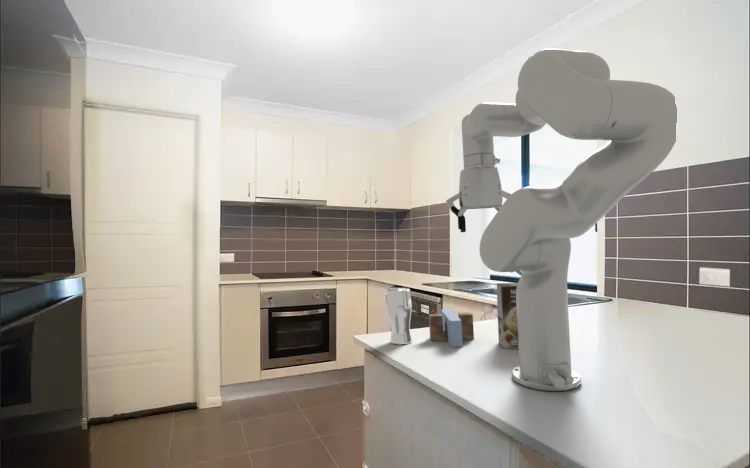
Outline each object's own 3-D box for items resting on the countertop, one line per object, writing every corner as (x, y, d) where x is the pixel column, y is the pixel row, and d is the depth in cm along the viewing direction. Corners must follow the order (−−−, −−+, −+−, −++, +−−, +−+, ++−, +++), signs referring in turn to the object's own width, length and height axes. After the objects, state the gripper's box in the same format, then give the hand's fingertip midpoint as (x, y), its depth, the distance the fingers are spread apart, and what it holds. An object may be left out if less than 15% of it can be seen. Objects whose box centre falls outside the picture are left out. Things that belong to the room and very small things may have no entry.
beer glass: (414, 344, 107) (411, 290, 107) (389, 346, 107) (386, 291, 107) (412, 338, 114) (409, 287, 114) (388, 339, 114) (386, 288, 114)
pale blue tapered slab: (462, 346, 103) (461, 320, 103) (451, 347, 103) (449, 320, 103) (452, 331, 119) (451, 309, 119) (442, 332, 119) (441, 309, 119)
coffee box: (503, 349, 99) (500, 286, 99) (498, 342, 105) (495, 283, 106) (541, 348, 98) (537, 285, 98) (533, 341, 104) (530, 281, 105)
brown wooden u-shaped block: (471, 336, 112) (470, 312, 113) (474, 339, 109) (472, 314, 110) (430, 338, 113) (428, 314, 113) (431, 341, 110) (430, 316, 110)
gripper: (508, 164, 102) (511, 229, 102) (442, 168, 102) (445, 233, 102) (518, 158, 94) (522, 229, 94) (446, 162, 95) (450, 232, 95)
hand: (482, 231), depth 98 cm, fingers open, 9 cm apart
